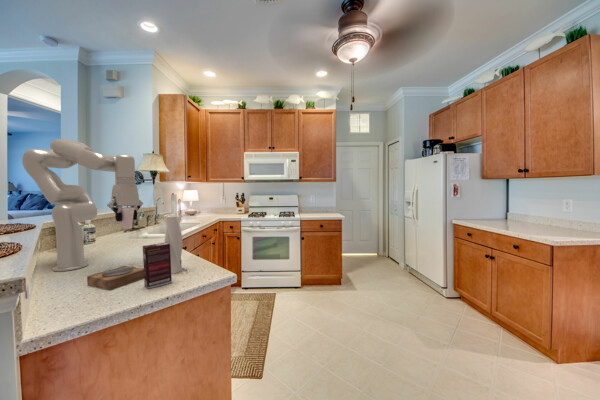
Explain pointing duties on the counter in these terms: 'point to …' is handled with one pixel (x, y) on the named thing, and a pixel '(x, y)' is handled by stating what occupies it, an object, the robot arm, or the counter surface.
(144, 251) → the supplement box
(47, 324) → the counter surface
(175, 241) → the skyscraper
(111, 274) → the plinth
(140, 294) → the counter surface
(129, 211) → the smoothie
